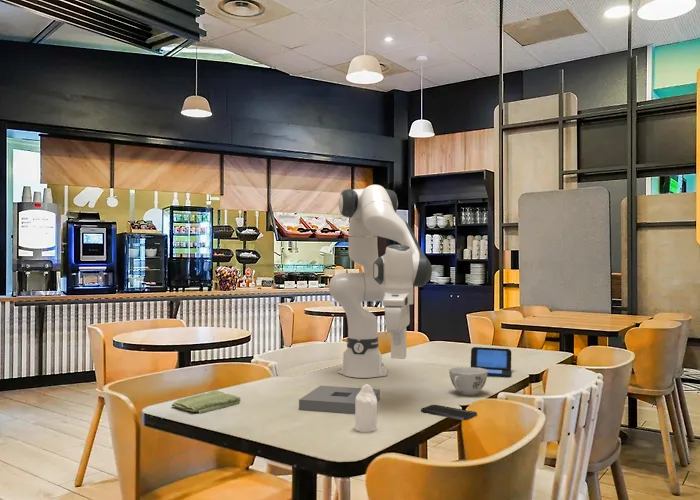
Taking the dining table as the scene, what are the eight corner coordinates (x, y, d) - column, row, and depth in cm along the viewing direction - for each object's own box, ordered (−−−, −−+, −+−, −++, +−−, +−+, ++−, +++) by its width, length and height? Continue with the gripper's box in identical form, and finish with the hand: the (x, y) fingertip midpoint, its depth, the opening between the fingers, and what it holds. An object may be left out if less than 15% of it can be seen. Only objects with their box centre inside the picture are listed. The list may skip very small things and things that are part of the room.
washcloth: (169, 409, 181) (169, 398, 181) (217, 398, 194) (217, 388, 194) (195, 416, 172) (195, 405, 172) (243, 405, 186) (243, 394, 186)
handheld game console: (468, 376, 230) (468, 351, 230) (471, 369, 243) (471, 346, 243) (511, 378, 226) (511, 353, 226) (511, 371, 239) (511, 348, 239)
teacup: (462, 387, 209) (462, 364, 209) (494, 393, 200) (494, 369, 200) (437, 395, 197) (437, 370, 197) (471, 401, 189) (471, 375, 189)
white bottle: (368, 380, 163) (382, 384, 158) (368, 425, 163) (381, 429, 158) (350, 383, 159) (363, 386, 155) (350, 428, 159) (363, 433, 154)
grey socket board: (320, 394, 198) (320, 385, 198) (380, 398, 192) (380, 389, 192) (299, 409, 178) (299, 399, 178) (364, 414, 173) (364, 404, 173)
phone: (433, 404, 182) (478, 412, 173) (433, 408, 182) (478, 416, 173) (419, 409, 176) (465, 417, 167) (419, 413, 176) (465, 422, 167)
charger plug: (393, 356, 185) (393, 324, 185) (406, 356, 184) (406, 325, 184) (390, 358, 181) (391, 326, 181) (404, 359, 180) (404, 326, 180)
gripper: (394, 295, 194) (394, 338, 194) (381, 300, 174) (381, 348, 174) (414, 296, 192) (414, 339, 192) (403, 301, 172) (403, 349, 172)
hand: (398, 343), depth 183 cm, fingers closed on charger plug, 4 cm apart
